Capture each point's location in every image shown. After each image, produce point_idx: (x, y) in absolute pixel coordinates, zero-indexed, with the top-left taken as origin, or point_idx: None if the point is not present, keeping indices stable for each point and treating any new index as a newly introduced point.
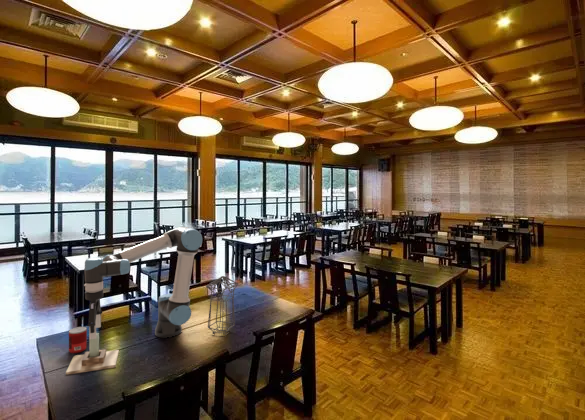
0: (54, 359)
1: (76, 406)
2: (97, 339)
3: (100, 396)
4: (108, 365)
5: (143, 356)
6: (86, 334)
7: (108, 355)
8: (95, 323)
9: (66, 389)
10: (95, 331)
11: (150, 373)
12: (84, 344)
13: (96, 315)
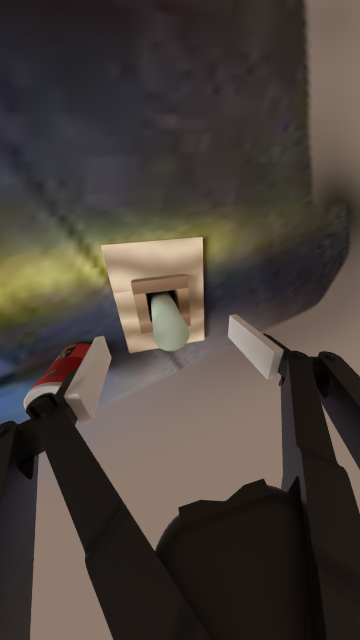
0: (131, 380)
1: (316, 282)
2: (177, 314)
3: (310, 246)
4: (201, 256)
5: (147, 138)
6: (57, 369)
7: (139, 270)
8: (104, 369)
9: (255, 316)
10: (256, 331)
11: (274, 104)
12: (83, 352)
13: (88, 408)
